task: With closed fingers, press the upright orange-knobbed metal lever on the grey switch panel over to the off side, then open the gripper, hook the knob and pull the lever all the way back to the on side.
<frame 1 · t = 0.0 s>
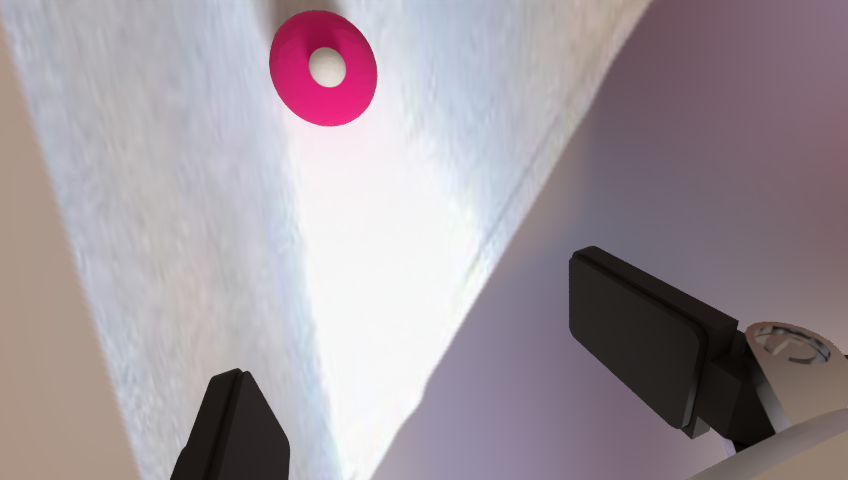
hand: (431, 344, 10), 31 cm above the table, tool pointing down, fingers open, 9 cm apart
pepper mill: (320, 83, 34), on the table
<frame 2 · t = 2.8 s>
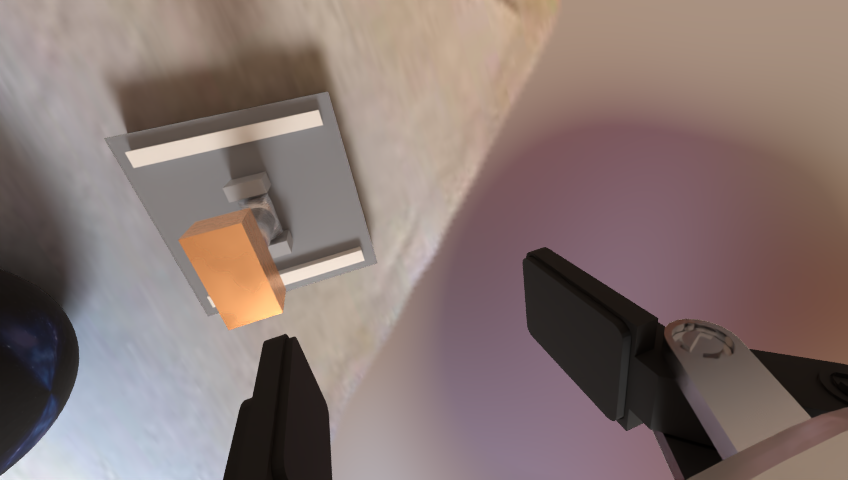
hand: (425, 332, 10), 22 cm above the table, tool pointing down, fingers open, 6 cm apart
lever: (252, 238, 20), point 9 cm above the table, hinge at 0.0°
switch panel: (268, 200, 28), on the table
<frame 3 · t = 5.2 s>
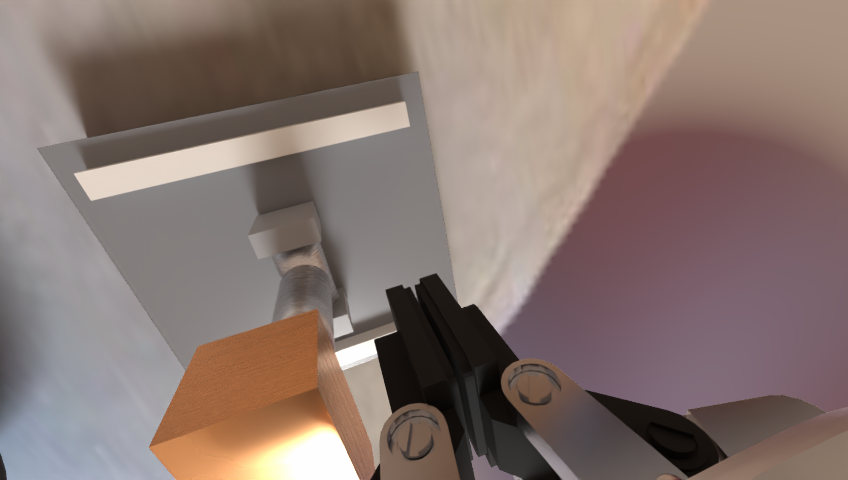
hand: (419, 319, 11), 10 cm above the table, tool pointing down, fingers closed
lever: (302, 334, 11), point 9 cm above the table, hinge at 1.2°, touching gripper
switch panel: (307, 238, 19), on the table
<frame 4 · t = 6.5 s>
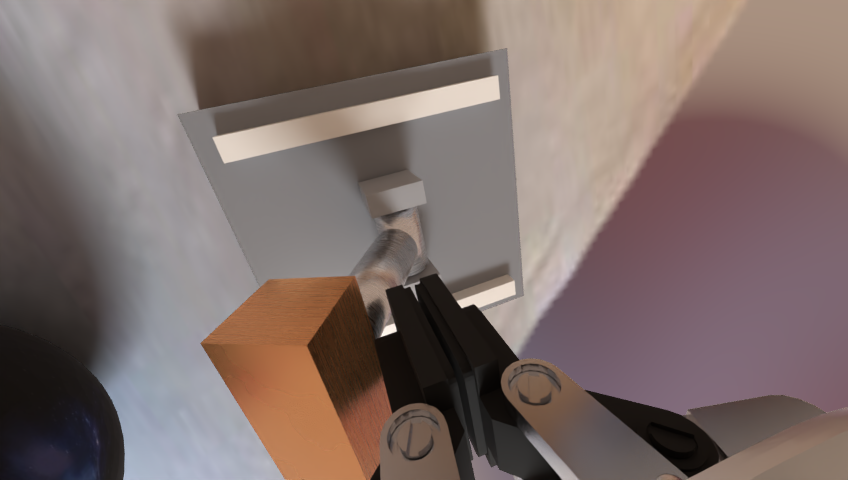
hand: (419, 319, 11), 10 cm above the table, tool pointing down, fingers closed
lever: (371, 291, 12), point 8 cm above the table, hinge at 30.4°, touching gripper
switch panel: (383, 210, 20), on the table
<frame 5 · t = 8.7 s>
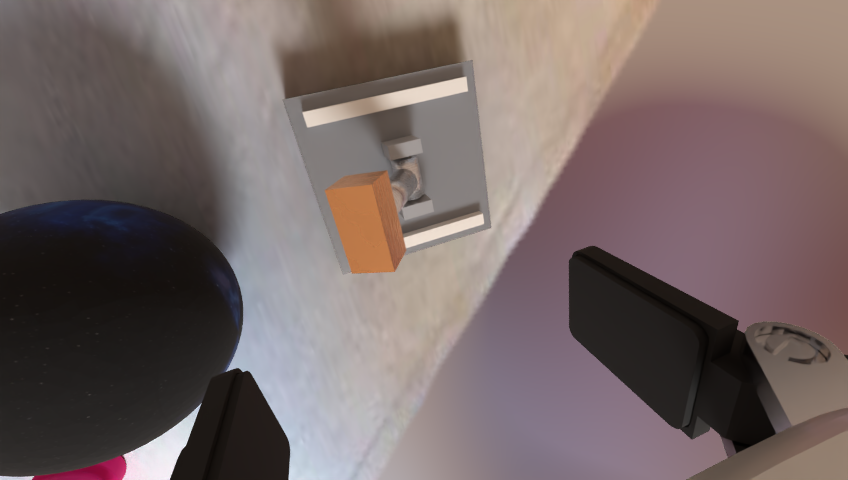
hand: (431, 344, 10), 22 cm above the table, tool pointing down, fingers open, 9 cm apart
lever: (391, 197, 22), point 8 cm above the table, hinge at 30.5°
pepper mill: (87, 467, 32), on the table
decorative sphere: (153, 268, 27), on the table
switch panel: (395, 167, 30), on the table
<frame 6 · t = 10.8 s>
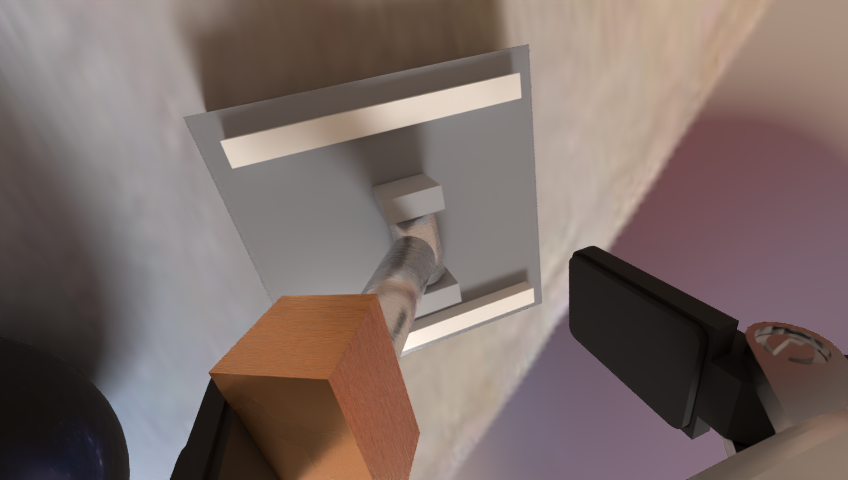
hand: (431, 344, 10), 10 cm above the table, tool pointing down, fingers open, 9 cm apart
lever: (388, 304, 12), point 8 cm above the table, hinge at 30.4°, touching gripper
decorative sphere: (0, 390, 17), on the table
switch panel: (396, 215, 19), on the table
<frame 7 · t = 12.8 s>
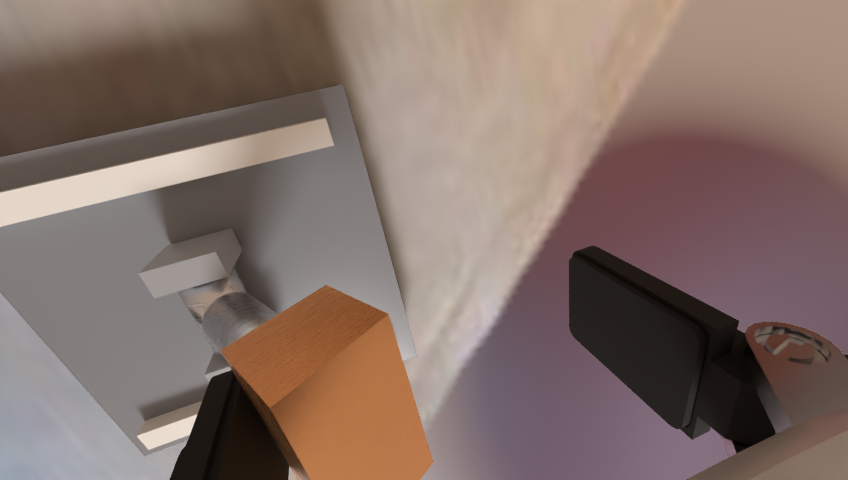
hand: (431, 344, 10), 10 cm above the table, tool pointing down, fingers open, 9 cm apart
lever: (268, 349, 11), point 8 cm above the table, hinge at -31.5°, touching gripper
switch panel: (245, 262, 17), on the table
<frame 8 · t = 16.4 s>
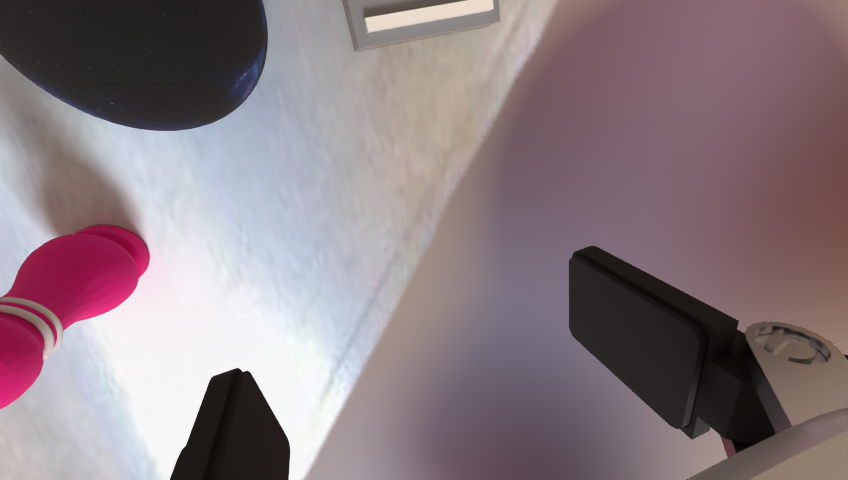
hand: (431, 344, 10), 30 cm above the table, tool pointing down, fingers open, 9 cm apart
pepper mill: (112, 253, 33), on the table
decorative sphere: (180, 30, 29), on the table
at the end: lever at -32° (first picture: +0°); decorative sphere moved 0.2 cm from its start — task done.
